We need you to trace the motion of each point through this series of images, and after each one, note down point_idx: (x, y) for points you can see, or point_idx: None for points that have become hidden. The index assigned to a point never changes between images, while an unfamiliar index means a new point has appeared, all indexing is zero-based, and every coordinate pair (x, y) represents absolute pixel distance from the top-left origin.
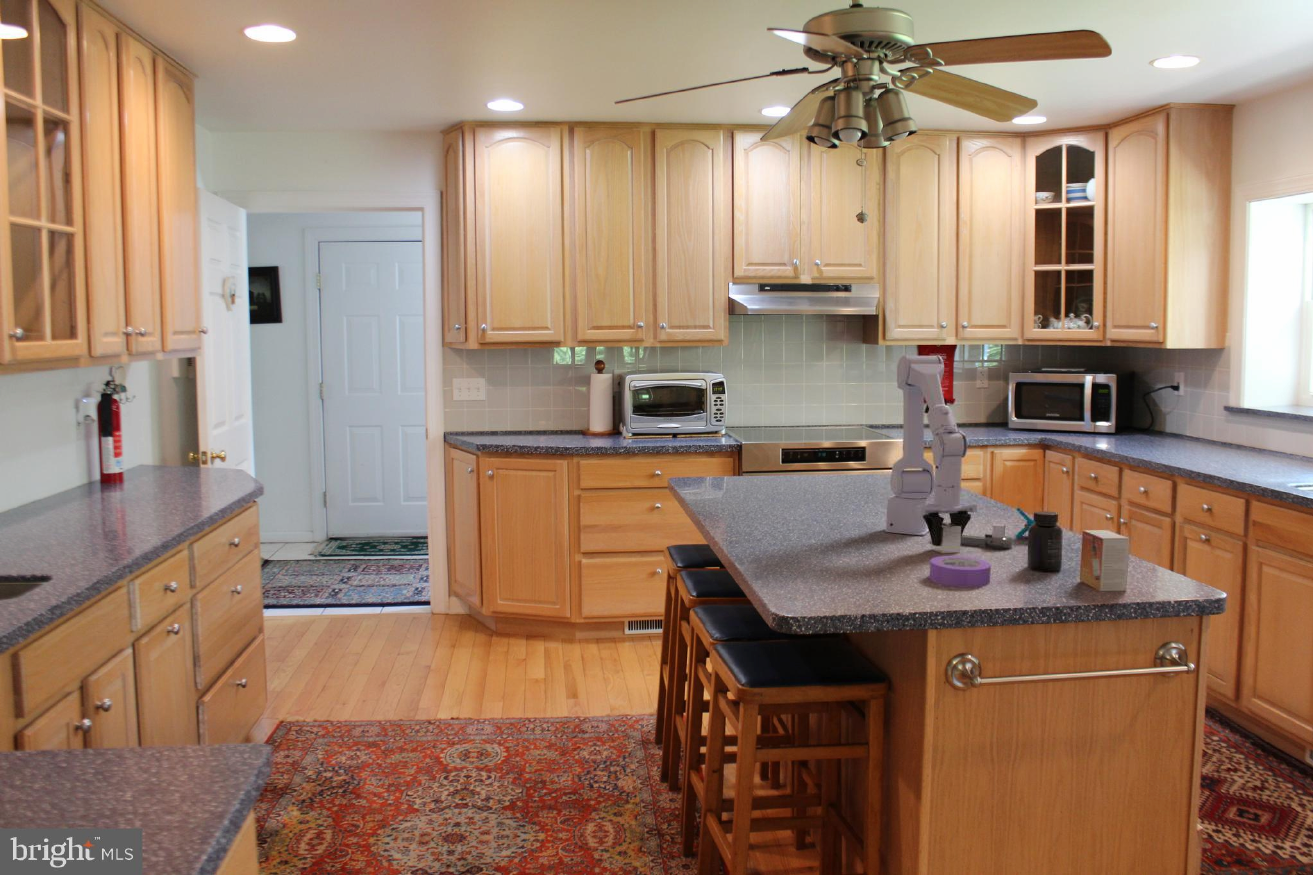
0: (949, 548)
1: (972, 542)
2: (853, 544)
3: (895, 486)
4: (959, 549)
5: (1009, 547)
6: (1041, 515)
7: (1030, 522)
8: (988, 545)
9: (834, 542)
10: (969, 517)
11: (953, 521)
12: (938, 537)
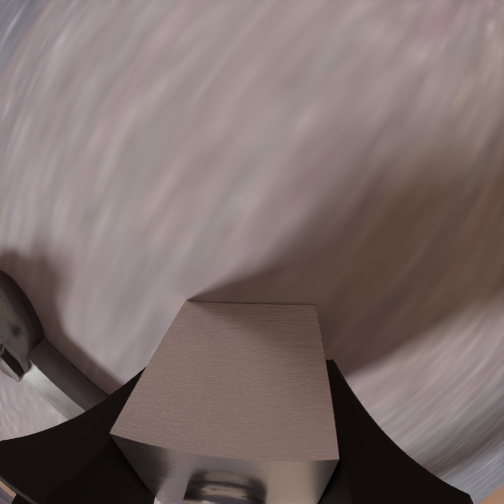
0: (262, 320)
1: (75, 383)
2: (466, 450)
3: None
4: (185, 309)
5: None
6: None
7: None
8: (31, 323)
9: (475, 459)
10: (1, 453)
11: (140, 500)
12: (346, 395)
